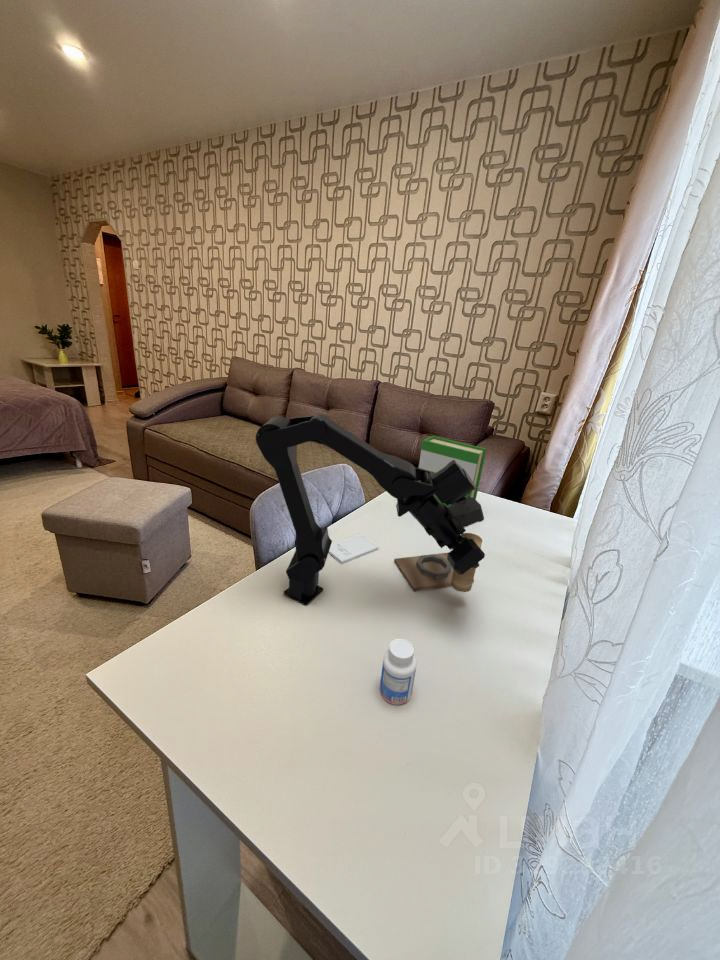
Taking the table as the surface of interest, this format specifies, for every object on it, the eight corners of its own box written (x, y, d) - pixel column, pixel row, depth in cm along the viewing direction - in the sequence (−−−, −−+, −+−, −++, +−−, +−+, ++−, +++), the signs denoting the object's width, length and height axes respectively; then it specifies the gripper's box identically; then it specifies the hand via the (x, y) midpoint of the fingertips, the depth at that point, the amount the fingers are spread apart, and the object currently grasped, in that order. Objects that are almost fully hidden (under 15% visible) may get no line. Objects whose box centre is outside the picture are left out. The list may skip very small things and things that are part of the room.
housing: (413, 591, 91) (414, 582, 90) (394, 562, 101) (395, 553, 100) (473, 583, 96) (475, 574, 95) (448, 555, 106) (450, 547, 105)
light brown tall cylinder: (467, 594, 84) (479, 546, 79) (448, 586, 85) (457, 539, 81) (473, 584, 87) (484, 537, 82) (454, 576, 89) (464, 530, 84)
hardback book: (471, 519, 127) (486, 448, 118) (463, 528, 121) (478, 454, 112) (421, 502, 136) (432, 435, 126) (412, 510, 130) (422, 440, 120)
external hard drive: (378, 551, 106) (341, 566, 99) (359, 537, 112) (322, 550, 104) (378, 546, 106) (341, 560, 98) (359, 533, 111) (323, 545, 104)
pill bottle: (391, 672, 70) (398, 629, 66) (417, 690, 67) (425, 646, 63) (372, 692, 66) (378, 647, 62) (399, 712, 63) (407, 667, 59)
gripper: (485, 510, 68) (527, 562, 74) (446, 470, 85) (483, 515, 91) (435, 550, 70) (480, 597, 76) (406, 503, 87) (445, 545, 93)
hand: (472, 560), depth 84 cm, fingers closed on light brown tall cylinder, 4 cm apart
